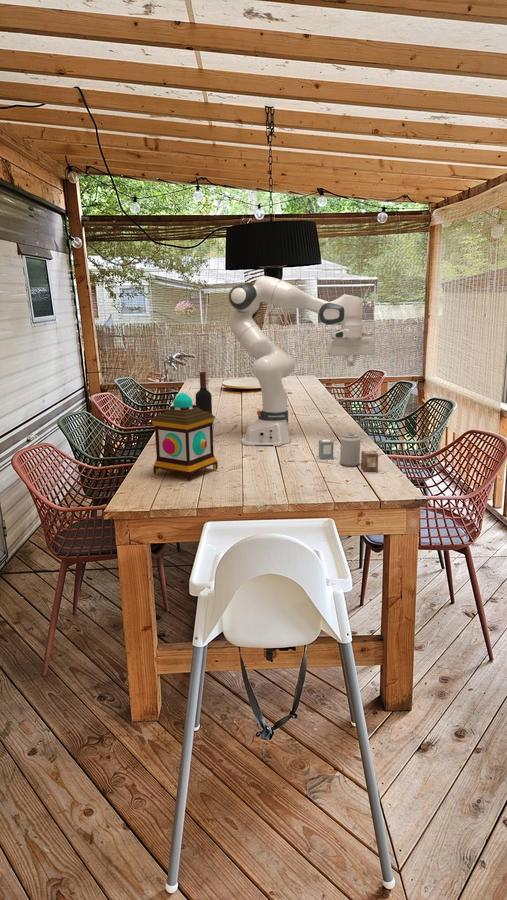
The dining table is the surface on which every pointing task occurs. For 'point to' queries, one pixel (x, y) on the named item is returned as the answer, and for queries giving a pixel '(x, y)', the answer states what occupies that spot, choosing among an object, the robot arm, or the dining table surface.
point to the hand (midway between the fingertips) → (350, 365)
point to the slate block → (326, 449)
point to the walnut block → (369, 461)
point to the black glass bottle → (208, 390)
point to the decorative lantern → (184, 438)
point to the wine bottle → (204, 395)
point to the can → (350, 449)
